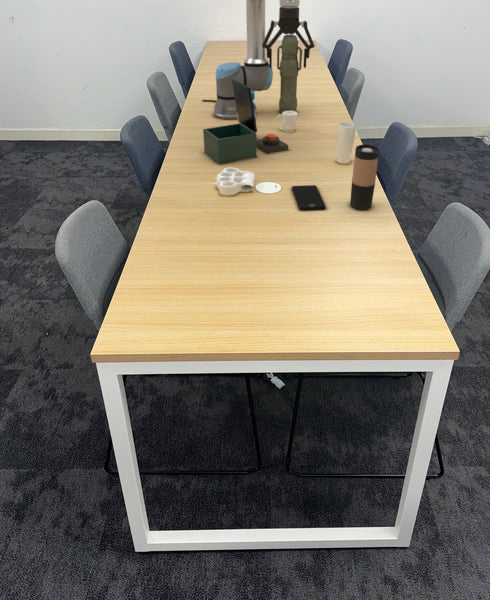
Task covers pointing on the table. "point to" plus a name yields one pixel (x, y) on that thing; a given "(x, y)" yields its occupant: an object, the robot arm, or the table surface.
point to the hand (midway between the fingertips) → (287, 67)
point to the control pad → (271, 145)
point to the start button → (271, 137)
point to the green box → (229, 143)
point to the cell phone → (308, 197)
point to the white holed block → (234, 181)
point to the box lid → (244, 105)
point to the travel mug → (364, 176)
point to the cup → (288, 120)
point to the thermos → (289, 72)
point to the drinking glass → (345, 141)
